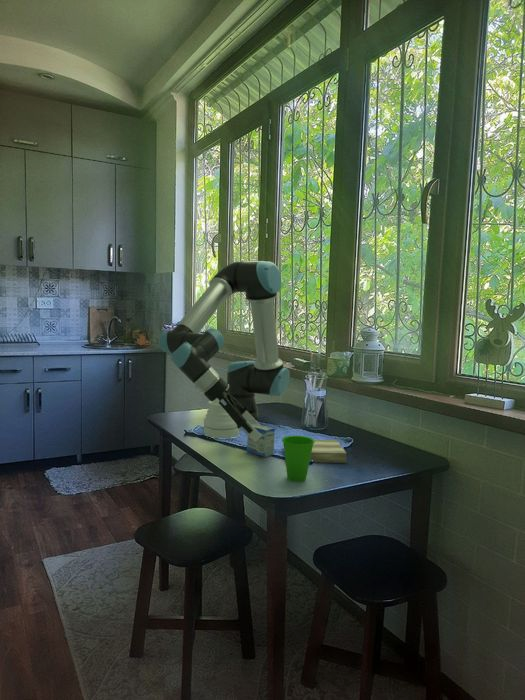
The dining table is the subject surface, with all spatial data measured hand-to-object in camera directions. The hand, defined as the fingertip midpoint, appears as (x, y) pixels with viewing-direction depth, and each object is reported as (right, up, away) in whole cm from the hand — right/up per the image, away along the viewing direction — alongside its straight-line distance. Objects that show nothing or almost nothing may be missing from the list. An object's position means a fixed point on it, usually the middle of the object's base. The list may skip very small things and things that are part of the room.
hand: (257, 433), depth 155 cm
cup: (+11, -9, -20) cm, 25 cm away
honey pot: (-13, -4, +22) cm, 26 cm away
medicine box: (+1, -7, +1) cm, 7 cm away
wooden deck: (+18, -7, +1) cm, 19 cm away
